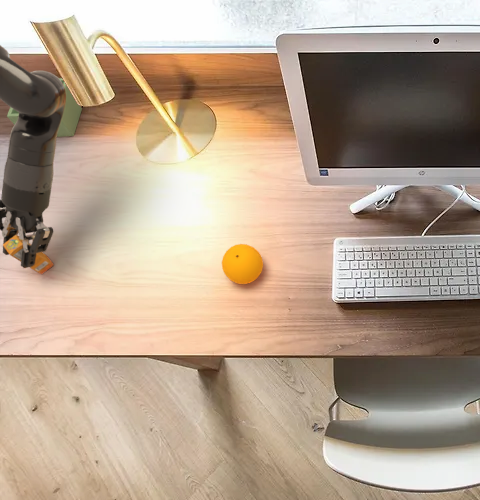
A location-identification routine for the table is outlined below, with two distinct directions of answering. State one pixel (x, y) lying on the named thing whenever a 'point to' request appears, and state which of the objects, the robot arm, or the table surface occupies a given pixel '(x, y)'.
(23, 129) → the robot arm
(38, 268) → the supplement box
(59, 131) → the bin
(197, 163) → the table surface
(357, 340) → the table surface
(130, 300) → the table surface
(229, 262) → the orange fruit
